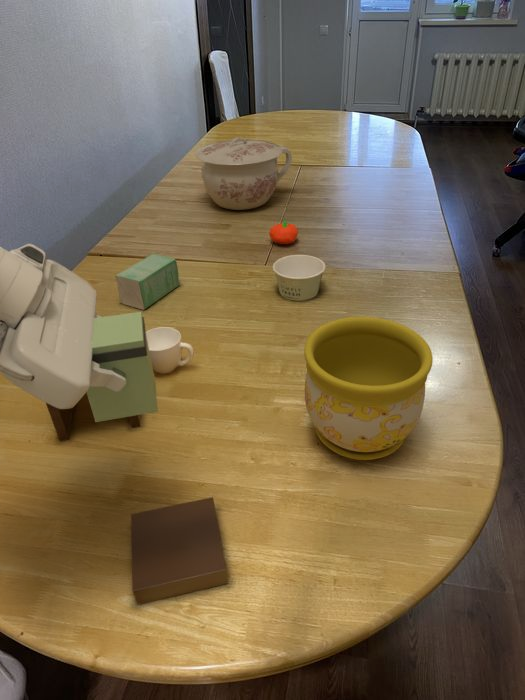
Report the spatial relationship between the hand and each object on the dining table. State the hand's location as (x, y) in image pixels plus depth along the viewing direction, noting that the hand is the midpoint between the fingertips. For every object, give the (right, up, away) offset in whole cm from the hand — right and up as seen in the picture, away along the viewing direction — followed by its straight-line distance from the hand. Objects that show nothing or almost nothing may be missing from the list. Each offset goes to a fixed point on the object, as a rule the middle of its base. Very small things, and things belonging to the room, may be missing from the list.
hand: (123, 363), depth 58 cm
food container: (+24, +15, +63) cm, 70 cm away
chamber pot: (+9, +50, +113) cm, 124 cm away
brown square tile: (+5, -25, +8) cm, 27 cm away
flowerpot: (+31, -12, +25) cm, 42 cm away
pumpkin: (+22, +31, +86) cm, 94 cm away
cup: (-2, -2, +41) cm, 41 cm away
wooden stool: (-12, -9, +32) cm, 35 cm away
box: (-11, +15, +65) cm, 67 cm away
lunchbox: (0, -4, +3) cm, 5 cm away
